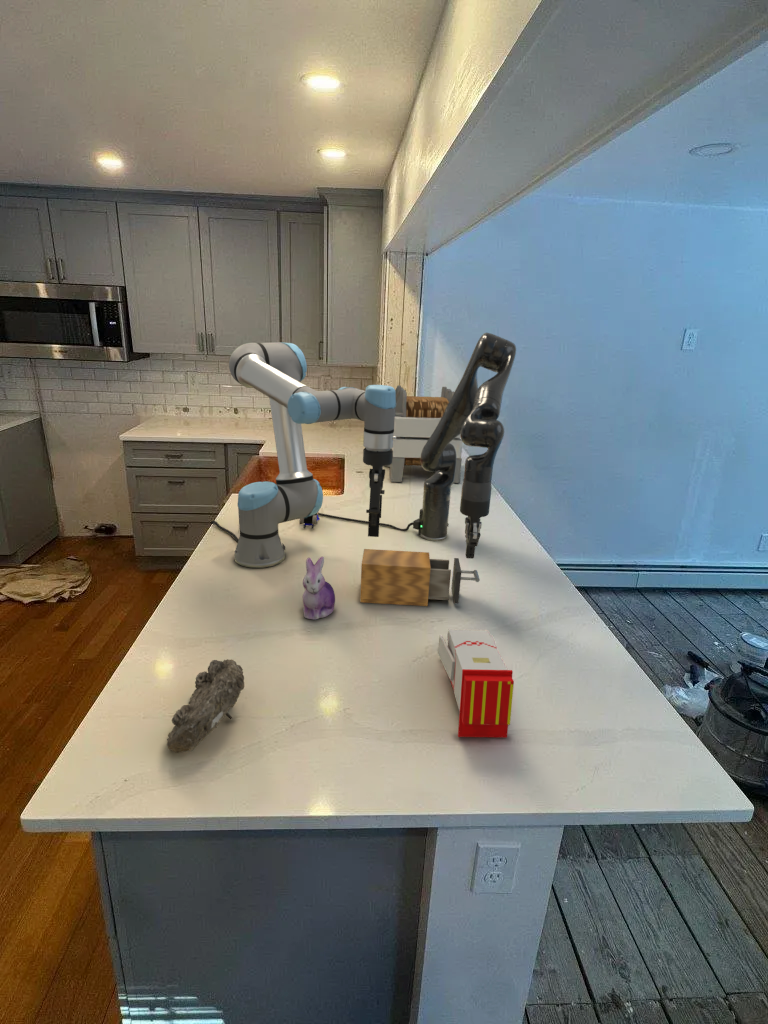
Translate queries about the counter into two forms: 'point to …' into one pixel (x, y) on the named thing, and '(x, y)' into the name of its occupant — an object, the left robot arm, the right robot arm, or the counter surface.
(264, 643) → the counter surface
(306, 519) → the figurine character
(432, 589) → the drawer
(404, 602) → the zigzag wood grain block
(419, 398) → the transformer
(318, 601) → the figurine
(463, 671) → the toy
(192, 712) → the fossil
